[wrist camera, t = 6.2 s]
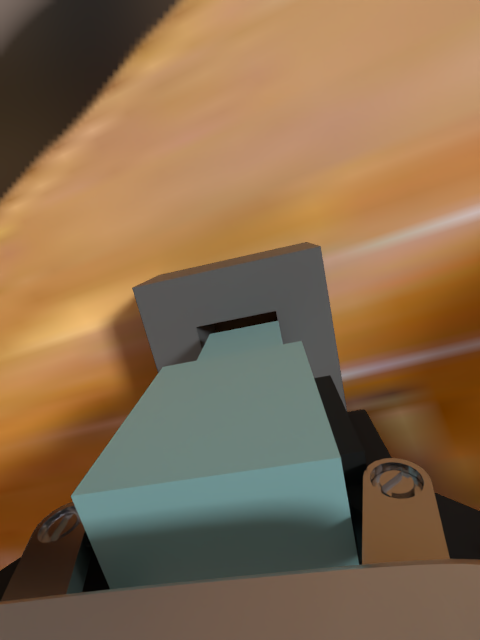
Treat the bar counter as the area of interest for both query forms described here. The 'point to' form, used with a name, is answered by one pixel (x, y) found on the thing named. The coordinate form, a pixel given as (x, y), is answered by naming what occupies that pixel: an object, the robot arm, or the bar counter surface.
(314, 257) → the block
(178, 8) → the bar counter surface
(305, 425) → the teal plug
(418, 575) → the robot arm
